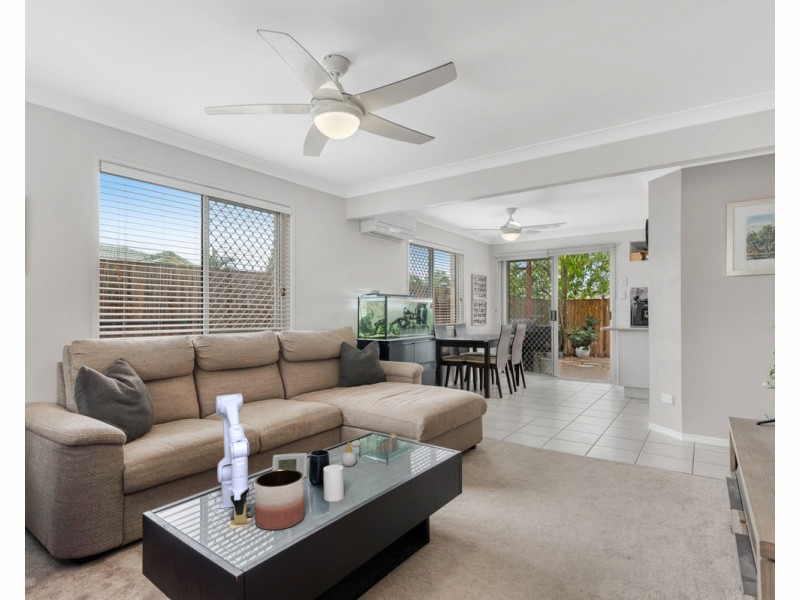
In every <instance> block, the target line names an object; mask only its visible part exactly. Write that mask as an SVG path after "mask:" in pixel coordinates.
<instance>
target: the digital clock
mask: <svg viewBox="0 0 800 600" xmlns="http://www.w3.org/2000/svg"><path fill="white" fill-rule="evenodd" d="M271 468H272V470H271V471H274V470H281V469H292V470H297V471H300V472H302V473H303V479H305V478H307V477H308V453H307V452H300V453H298V452H296V453H294V452H293V453H282V454H274V455H273V456H272V467H271Z"/></svg>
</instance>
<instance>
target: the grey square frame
mask: <svg viewBox="0 0 800 600" xmlns="http://www.w3.org/2000/svg"><path fill="white" fill-rule="evenodd" d="M230 514H231V515H230V522H231V521H232V520H234V507H232V511H231V513H230ZM247 518H251V519H254V518H255V502H254V503H247Z"/></svg>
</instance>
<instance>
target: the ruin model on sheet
mask: <svg viewBox="0 0 800 600" xmlns="http://www.w3.org/2000/svg"><path fill="white" fill-rule="evenodd" d="M389 434H390V437H388V438H385V439H383V440H382V441H381V440H380V441H379V448H380V449H379V451H380V456H383V457H385V456H387V455H389V454H391V453H394V452H396V451H398V449H399V448H398V446H399V445H398V436H397V434H395V433H394V432H392V433H389Z"/></svg>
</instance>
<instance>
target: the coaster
mask: <svg viewBox="0 0 800 600" xmlns="http://www.w3.org/2000/svg"><path fill="white" fill-rule="evenodd" d="M251 523H252V518H247V521H246V523H240V524H234V520H232V521H231V520H230V524H229V529H236V528H244V527H251Z"/></svg>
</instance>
